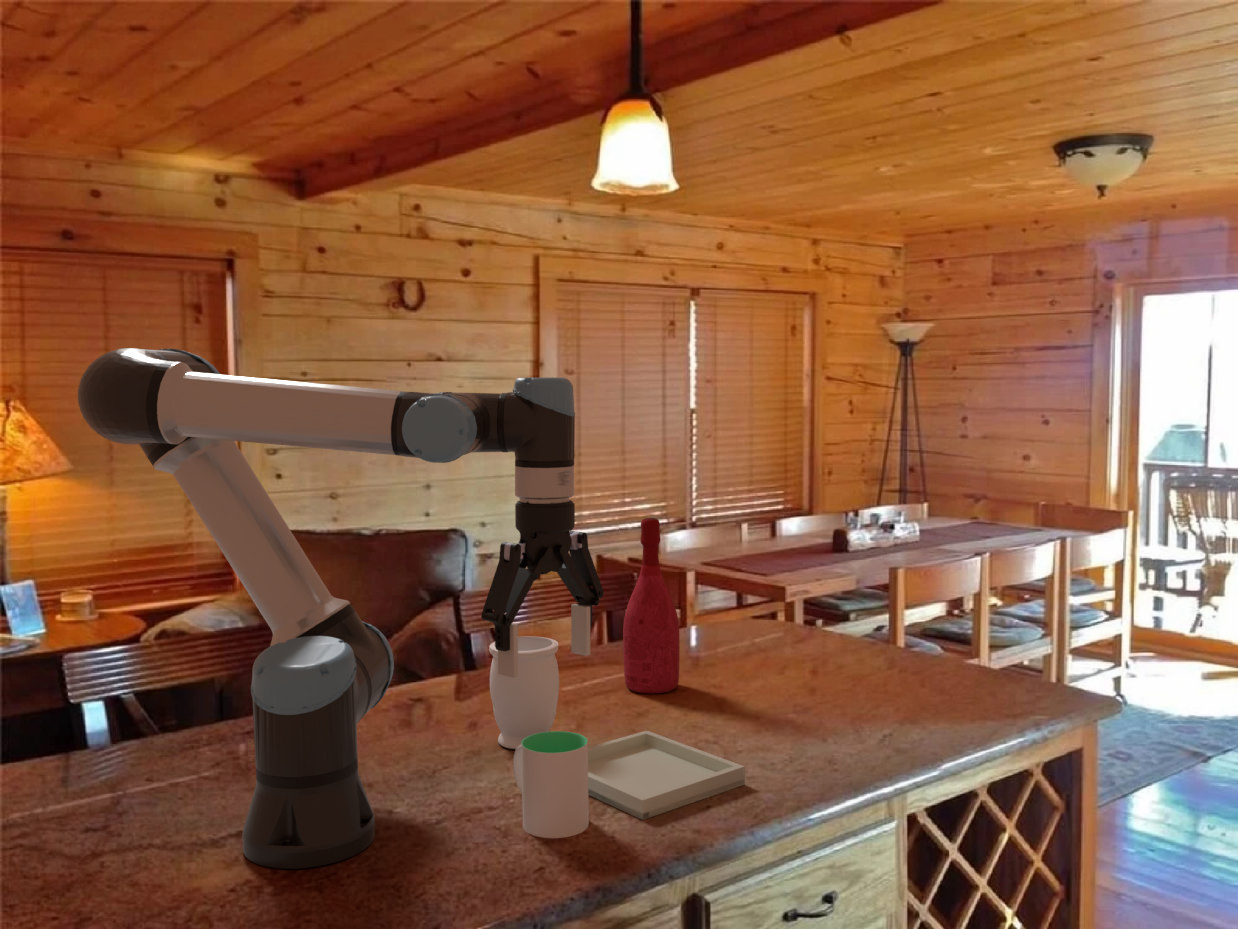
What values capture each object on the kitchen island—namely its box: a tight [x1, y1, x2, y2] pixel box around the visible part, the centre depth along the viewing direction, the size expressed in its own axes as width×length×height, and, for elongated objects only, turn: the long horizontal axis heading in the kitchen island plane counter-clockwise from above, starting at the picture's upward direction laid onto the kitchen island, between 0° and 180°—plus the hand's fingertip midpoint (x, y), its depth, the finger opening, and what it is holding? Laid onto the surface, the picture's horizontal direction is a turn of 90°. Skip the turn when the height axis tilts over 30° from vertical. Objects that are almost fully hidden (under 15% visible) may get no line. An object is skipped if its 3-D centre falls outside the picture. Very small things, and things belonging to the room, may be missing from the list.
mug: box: [512, 730, 590, 839], centre depth 138 cm, size 12×8×10 cm, turn 44°
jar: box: [488, 635, 560, 750], centre depth 167 cm, size 11×10×15 cm
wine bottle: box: [622, 517, 681, 695], centre depth 194 cm, size 10×10×30 cm
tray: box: [588, 730, 746, 821], centre depth 151 cm, size 18×20×2 cm
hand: (545, 664), depth 142 cm, fingers open, 13 cm apart
